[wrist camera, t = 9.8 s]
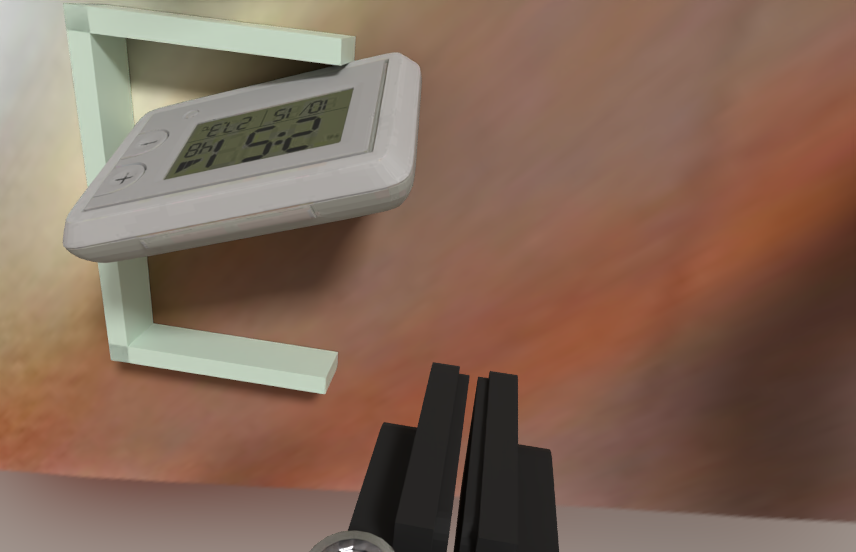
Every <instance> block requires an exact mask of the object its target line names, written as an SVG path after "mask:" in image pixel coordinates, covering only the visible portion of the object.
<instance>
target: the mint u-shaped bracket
mask: <svg viewBox="0 0 856 552" xmlns="http://www.w3.org/2000/svg"><path fill="white" fill-rule="evenodd" d="M63 8H64V16H65V23H66V30H67V38H68V45H69V53H70V60H71V67H72V75H73V82H74V90H75V97H76V104H77V112H78V119H79V127H80V134H81V141H82V149H83V156H84V164H85V171H86V178H87V186H88V187H89V185H90V184H91V183H92V181H93V180H94V179H95V178H96V176H97V175H98V174H99V172H100V171H101V170H102V168H103V167H104V166H105V164H106V163H107V162H108V160H109V159H110V158H111V156H112V155H113V154H114V152H115V151H116V150H117V148H118V147H119V146H120V145H121V143H122V142H123V141H124V139H125V138H126V137H127V135H128V134H129V133H130V131H131V130H132V129H133V127H134V117H133V107H132V96H131V86H130V76H129V65H128V55H127V44H126V38H132V39H139V40H147V41H155V42H163V43H170V44H178V45H186V46H193V47H201V48H209V49H216V50H224V51H232V52H240V53H247V54H255V55H263V56H270V57H278V58H286V59H294V60H301V61H309V62H317V63H324V64H332V65H340V66H341V65H344V64H347V63H350V62H352V61H354V58H355V40H356V36H349V35H341V34H333V33H325V32H317V31H309V30H301V29H294V28H286V27H278V26H270V25H262V24H254V23H246V22H238V21H231V20H223V19H215V18H207V17H199V16H191V15H183V14H175V13H168V12H160V11H152V10H144V9H136V8H128V7H120V6H112V5H105V4H76V3H63ZM98 267H99V274H100V282H101V289H102V297H103V304H104V311H105V319H106V326H107V334H108V341H109V348H110V356H111V360H114V361H120V362H127V363H133V364H139V365H145V366H152V367H158V368H164V369H170V370H177V371H183V372H189V373H195V374H202V375H208V376H214V377H220V378H227V379H233V380H239V381H245V382H252V383H258V384H264V385H270V386H277V387H283V388H289V389H295V390H302V391H308V392H314V393H320V394H325V393H326V391H327V389H328V387H329V385H330V382H331V380H332V378H333V376H334V373H335V371H336V369H337V362H338V352H334V351H328V350H321V349H315V348H309V347H302V346H296V345H289V344H283V343H277V342H270V341H264V340H257V339H251V338H244V337H238V336H232V335H225V334H219V333H212V332H206V331H200V330H193V329H187V328H180V327H174V326H168V325H161V324H155V323H153V314H152V304H151V293H150V283H149V272H148V262H147V256H146V257H140V258H134V259H129V260H123V261H117V262H110V263H99V262H98Z"/></svg>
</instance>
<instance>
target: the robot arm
mask: <svg viewBox="0 0 856 552" xmlns="http://www.w3.org/2000/svg"><path fill="white" fill-rule="evenodd" d="M459 369H460V366H454V365H447V364H441V363H434V362H433V364H432V368H431V372H430V376H429V380H428V385H427V389H426V393H425V397H424V401H423V406H422V410H421V414H420V418H419V423H418V427H417V428H416V427H410V426H404V425H397V424H391V423H385V422H384V423H383V424H382V427H381V429H380V432H379V436H378V439H377V442H376V445H375V448H374V451H373V454H372V457H371V460H370V463H369V467H368V470H367V473H366V476H365V479H364V482H363V485H362V488H361V491H360V495H359V498H358V501H357V504H356V507H355V510H354V513H353V517H352V520H351V523H350V526H349V529H348V531H343V532H339V533H336V534H333V535H330V536H327V537H326V538H324V539H323V540H321V541H320V542H319V543H317V544H316V545H315V546H314V547H313V548H312V549H311V551H310V552H447V545H448V538H449V531H450V523H451V516H452V508H453V500H454V493H455V485H456V477H457V469H458V461H459V454H460V446H461V438H462V430H463V422H464V415H465V407H466V399H467V391H468V383H469V375H464V374H459ZM454 552H559V546H558V531H557V518H556V505H555V492H554V479H553V466H552V456H551V451H550V449H544V448H538V447H532V446H526V445H519V444H518V376H517V375H512V374H506V373H499V372H493V371H490V373H489V378H483V377H478V381H477V387H476V394H475V400H474V407H473V413H472V420H471V426H470V433H469V440H468V446H467V453H466V459H465V466H464V472H463V479H462V486H461V493H460V501H459V510H458V518H457V527H456V536H455V545H454Z"/></svg>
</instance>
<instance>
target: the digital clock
mask: <svg viewBox="0 0 856 552" xmlns="http://www.w3.org/2000/svg"><path fill="white" fill-rule="evenodd" d="M421 84H422V78H421V71H420V67H419V65H418V64H417V63H415V62H414V61H412V60H411V59H409V58H407V57H406V56H404V55H402V54H400V53H388V54H383V55H379V56H374V57H370V58H365V59H361V60H357V61H352V62H350V63H347V64H344V65H341V66H340V65H336V66H331V67H327V68H323V69H319V70H315V71H311V72H306V73H302V74H298V75H294V76H290V77H285V78H281V79H277V80H273V81H269V82H265V83H260V84H256V85H252V86H248V87H244V88H239V89H235V90H231V91H227V92H223V93H219V94H214V95H210V96H206V97H202V98H198V99H193V100H189V101H185V102H181V103H177V104H173V105H169V106H165V107H162V108H158V109H155V110H152V111H150V112H148V113H147V114H145V115H144V116H143V117H142V118H141V119H140V120H139V121H138V122H137V123H136V125H135V126H134V127H133V129H132V130H131V131H130V133H129V134H128V135H127V137H126V138H125V139H124V141H123V142H122V143H121V145H120V146H119V147H118V148H117V150H116V151H115V152H114V154H113V155H112V156H111V158H110V159H109V160H108V162H107V163H106V164H105V166H104V167H103V168H102V170H101V171H100V172H99V174H98V175H97V176H96V178H95V179H94V180H93V181H92V183H91V184H90V185H89V187H88V188H87V189H86V191H85V192H84V193H83V195H82V196H81V197H80V199H79V200H78V201H77V203H76V204H75V206H74V207H73V208H72V210H71V211H70V213H69V214H68V216H67V218H66V222H65V228H64V235H63V245H64V247H65V248H66V249H67V250H68V251H69V252H70V253H72V254H73V255H75V256H77V257H79V258H81V259H85V260H89V261H92V262H99V263H110V262H117V261H123V260H129V259H134V258H140V257H146V256H152V255H157V254H163V253H168V252H173V251H179V250H184V249H190V248H195V247H200V246H206V245H211V244H216V243H222V242H227V241H232V240H238V239H243V238H248V237H254V236H259V235H265V234H270V233H275V232H281V231H286V230H291V229H297V228H302V227H307V226H313V225H318V224H323V223H329V222H334V221H339V220H345V219H350V218H355V217H360V216H365V215H369V214H374V213H379V212H384V211H388V210H391V209H394V208H396V207H398V206H400V205H401V204H402V203H403V202H404V201H405V200H406V198H407V197H408V195H409V193H410V191H411V188H412V186H413V182H414V176H415V168H416V154H417V140H418V126H419V113H420V99H421Z"/></svg>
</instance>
